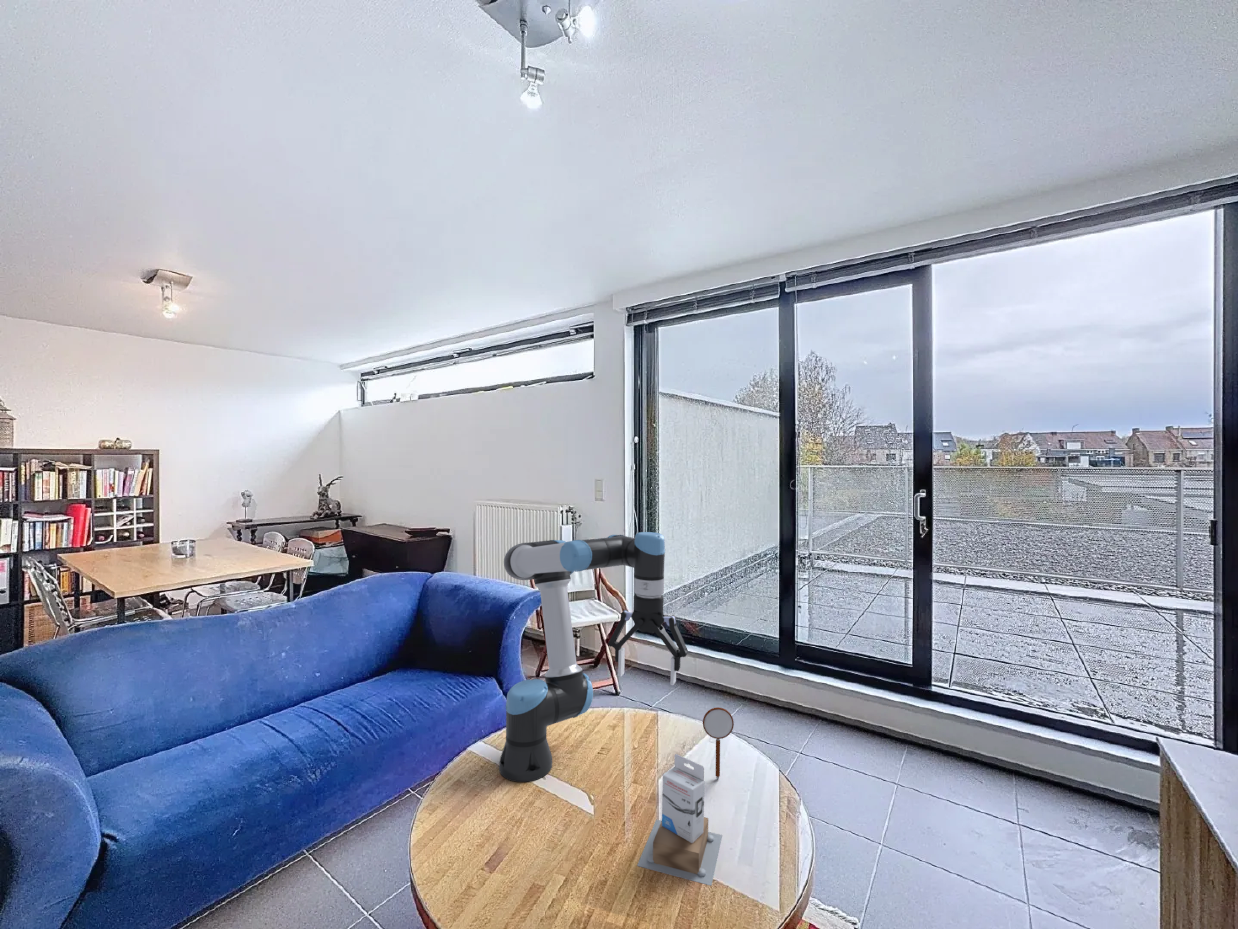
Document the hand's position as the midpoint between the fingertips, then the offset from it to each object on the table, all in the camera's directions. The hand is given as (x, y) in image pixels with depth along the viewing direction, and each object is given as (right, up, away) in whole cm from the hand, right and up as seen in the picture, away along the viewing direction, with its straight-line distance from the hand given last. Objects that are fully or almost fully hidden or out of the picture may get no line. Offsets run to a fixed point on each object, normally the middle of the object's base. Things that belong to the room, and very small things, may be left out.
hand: (646, 679), depth 133 cm
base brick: (+7, -33, -14) cm, 36 cm away
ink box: (+7, -28, -14) cm, 33 cm away
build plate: (+7, -34, -14) cm, 37 cm away
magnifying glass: (+21, -35, +15) cm, 43 cm away
